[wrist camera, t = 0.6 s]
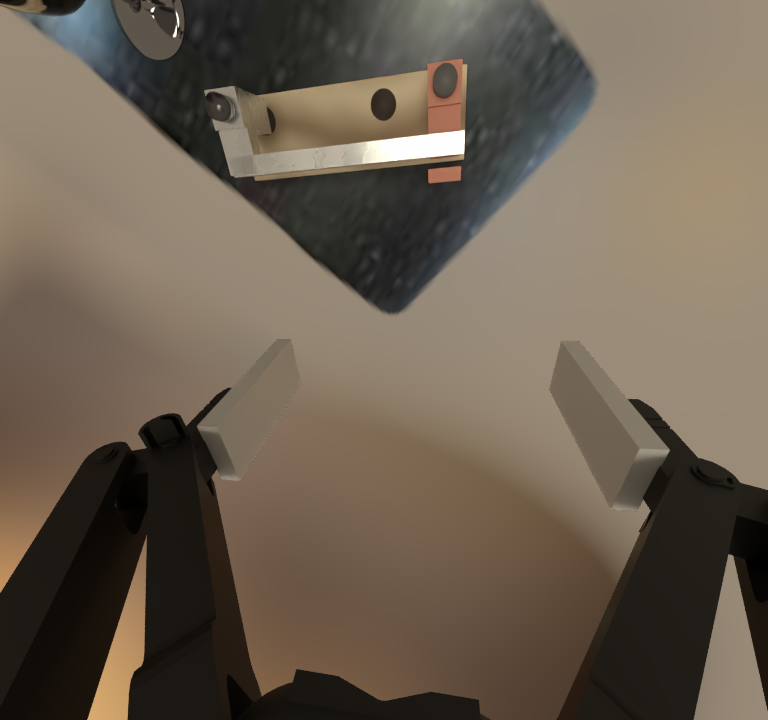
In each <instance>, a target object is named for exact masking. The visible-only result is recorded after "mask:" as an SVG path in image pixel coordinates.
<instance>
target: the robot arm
mask: <svg viewBox="0 0 768 720" xmlns="http://www.w3.org/2000/svg"><path fill="white" fill-rule="evenodd" d="M300 384H301V380H300V376H299V372H298V368H297V363H296V359H295V355H294V351H293V346H292V342H291V339H290V340H289V339H277V340H276V341H275V342H274V343H273V344H272V345H271V346H270V347H269V349H268V350H267V351H266V352H265V353H264V354H263V355H262V356H261V357H260V358H259V359H258V360H257V362H256V363H255V364H254V365H253V366H252V367H251V368H250V369H249V370H248V371H247V372H246V373H245V375H244V376H243V377H242V378H241V379H240V380H239V381H238V382H237V383H236V384H235V385H234V386H233V388H227V389H225V390H223V391H222V392H220V393H219V394H217V395H216V396H215V397H214V398H213V399H212V400H211V401H210V403H209V404H208V405H207V406H205V407H204V409H203V410H202V411H201V412H200V413H199V414H198V415H197V416H196V417H195V418H194V419H193V420H192V421H191V422H190V423H189V424H188V425H187V426H185V424H184V422H183V420H182V418H181V416H180V415H178V414H175V413H173V414H165V415H161V416H158V417H156V418H154V419H152V420H150V421H149V422H147V423H146V424H144V425H143V427H142V428H141V429H140V430H139V433H138V434H139V436H140V437H141V439H142V441H143V442H144V444H145V446H146V447H147V448H146V449H140V450H134V451H132V450H131V449H130V447H129V446H128V444H127V443H125V442H113V443H110V444H108V445H104V446H102V447H100V448H98V449H96V450H95V451H94V452H92V453H91V454H90V455H89V456H88V457H87V458H86V459H85V460H84V462H83V463H82V465H81V466H80V468H79V469H78V471H77V473H76V474H75V476H74V477H73V479H72V481H71V482H70V484H69V485H68V487H67V488H66V490H65V492H64V493H63V495H62V496H61V498H60V500H59V501H58V503H57V504H56V506H55V507H54V509H53V511H52V512H51V514H50V516H49V517H48V518H47V520H46V522H45V523H44V525H43V526H42V528H41V530H40V531H39V533H38V534H37V536H36V537H35V539H34V541H33V542H32V544H31V545H30V547H29V549H28V550H27V552H26V553H25V555H24V557H23V558H22V560H21V561H20V563H19V564H18V566H17V568H16V569H15V571H14V573H13V574H12V575H11V577H10V579H9V580H8V582H7V583H6V585H5V587H4V588H3V590H2V592H1V593H0V720H87V719H88V716H89V712H90V709H91V706H92V703H93V700H94V697H95V694H96V691H97V688H98V685H99V681H100V678H101V675H102V672H103V669H104V666H105V663H106V660H107V657H108V653H109V650H110V647H111V644H112V641H113V638H114V635H115V631H116V629H117V626H118V622H119V619H120V616H121V612H122V610H123V607H124V603H125V600H126V598H127V594H128V591H129V588H130V585H131V582H132V579H133V576H134V573H135V569H136V566H137V563H138V560H139V557H140V554H141V551H142V548H143V545H144V542H145V539H146V535H147V558H146V559H147V560H146V561H147V562H146V606H145V607H146V608H145V652H144V661H143V664H142V666H141V667H139V668H138V669H137V670H136V671H135V672H134V674H133V676H132V679H131V683H130V690H129V704H128V720H491V719H489V718H487V717H486V716H484V715H482V714H480V708H479V700H476V699H470V698H464V697H458V696H452V695H447V694H441V693H435V692H428V693H424V694H418V695H413V696H408V697H403V698H398V699H393V700H389V701H381V700H378V699H376V698H375V697H373V696H371V695H369V694H368V693H366V692H364V691H363V690H361V689H359V688H357V687H356V686H354V685H352V684H350V683H349V682H347V681H345V680H344V679H342V678H340V677H339V676H334V675H328V674H322V673H316V672H310V671H304V670H299V669H297V670H296V673H295V677H294V680H293V682H292V683H288V684H285V685H283V686H280V687H278V688H276V689H274V690H272V691H270V692H268V693H266V694H265V695H264V696H261V692H260V689H259V686H258V682H257V680H256V677H255V674H254V672H253V669H252V666H251V662H250V658H249V653H248V648H247V643H246V638H245V633H244V628H243V623H242V618H241V613H240V609H239V603H238V599H237V593H236V589H235V583H234V579H233V574H232V569H231V564H230V559H229V554H228V549H227V544H226V539H225V534H224V529H223V525H222V519H221V514H220V510H219V505H218V500H217V495H216V490H215V485H214V482H213V480H212V478H211V477H212V475H213V474H214V473H215V471H216V470H217V469H218V472H219V474H220V476H221V477H222V479H224V480H237V481H240V480H241V479H242V477H243V475H244V474H245V472H246V470H247V469H248V467H249V466H250V464H251V462H252V461H253V459H254V458H255V456H256V455H257V453H258V451H259V449H260V448H261V447H262V445H263V443H264V442H265V440H266V439H267V437H268V435H269V434H270V432H271V430H272V429H273V427H274V426H275V424H276V422H277V421H278V419H279V418H280V416H281V415H282V413H283V411H284V410H285V408H286V407H287V405H288V403H289V402H290V400H291V398H292V397H293V395H294V394H295V392H296V390H297V389H298V387H299V386H300ZM549 390H550V392H551V394H552V396H553V398H554V400H555V402H556V404H557V406H558V408H559V410H560V411H561V414H562V415H563V417H564V419H565V421H566V423H567V425H568V427H569V429H570V431H571V433H572V435H573V437H574V439H575V441H576V443H577V445H578V447H579V448H580V451H581V452H582V454H583V456H584V458H585V460H586V462H587V464H588V466H589V468H590V470H591V472H592V474H593V476H594V478H595V480H596V482H597V484H598V486H599V488H600V490H601V491H602V493H603V495H604V497H605V499H606V501H607V503H608V505H609V507H610V509H612V510H623V511H637V510H638V508H639V506H640V505H641V502H642V501H643V499H644V501H645V502H646V504H647V506H648V507H649V509H650V510H651V511H650V513H649V515H648V516H647V518H646V520H645V522H644V523H643V525H642V527H641V529H640V530H639V532H640V534H639V537H638V539H637V541H636V543H635V546H634V548H633V550H632V552H631V554H630V557H629V559H628V561H627V563H626V566H625V568H624V570H623V572H622V575H621V577H620V579H619V581H618V583H617V586H616V588H615V590H614V592H613V595H612V597H611V599H610V601H609V604H608V606H607V608H606V611H605V613H604V615H603V617H602V619H601V622H600V624H599V626H598V628H597V631H596V633H595V635H594V637H593V640H592V642H591V644H590V646H589V649H588V651H587V653H586V655H585V657H584V660H583V662H582V664H581V666H580V669H579V671H578V673H577V676H576V678H575V680H574V682H573V684H572V687H571V689H570V691H569V693H568V696H567V698H566V700H565V702H564V705H563V707H562V709H561V711H560V714H559V716H558V718H557V720H693V719H694V715H695V709H696V705H697V701H698V695H699V691H700V686H701V682H702V677H703V672H704V667H705V662H706V658H707V653H708V648H709V643H710V638H711V634H712V629H713V624H714V620H715V615H716V610H717V605H718V601H719V596H720V591H721V586H722V582H723V576H724V572H725V567H726V563H727V558H728V554H730V555H733V556H734V561H735V565H736V570H737V574H738V579H739V583H740V588H741V592H742V597H743V601H744V606H745V611H746V615H747V620H748V624H749V629H750V633H751V638H752V642H753V647H754V651H755V656H756V660H757V665H758V669H759V674H760V678H761V683H762V687H763V692H764V696H765V701H766V705H767V710H768V490H765V489H762V488H758V487H754V486H750V485H746V484H742V483H740V482H739V481H738V479H737V478H736V477H735V476H734V475H733V474H732V473H730V472H729V471H727V470H726V469H725V468H723V467H721V466H719V465H717V464H715V463H713V462H711V461H707V460H704V459H701V458H698V457H697V456H696V455H695V454H694V453H693V452H692V451H691V450H690V449H689V447H688V446H687V445H686V444H685V443H684V442H683V441H682V440H681V439H680V437H679V436H678V435H677V434H676V433H675V432H674V431H673V430H672V429H670V426H668V424H667V423H666V422H665V421H663V420H662V418H661V417H660V416H659V414H658V413H657V412H656V411H655V410H654V409H653V408H652V407H650V406H649V405H647V404H645V403H644V402H642V401H641V400H638V399H627V398H626V397H625V396H624V394H623V393H622V392H621V391H620V389H619V388H618V387H617V386H616V385H615V384H614V382H613V381H612V380H611V379H610V377H609V376H608V375H607V374H606V373H605V371H604V370H603V369H602V368H601V367H600V366H599V364H598V363H597V362H596V361H595V360H594V358H593V357H592V356H591V355H590V353H589V352H588V351H587V350H586V349H585V347H584V346H583V345H582V344H581V343H580V341H561V343H560V348H559V352H558V356H557V360H556V364H555V368H554V372H553V376H552V381H551V385H550V389H549Z"/></svg>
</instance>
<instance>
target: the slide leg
mask: <svg viewBox="0 0 768 720" xmlns="http://www.w3.org/2000/svg"><path fill="white" fill-rule="evenodd" d="M462 63H463V59H456V60H450V61H443V62H437V63H430V64H427V72H428V135H430V134H438V133H447V132H455V131H460V125H461V100H462ZM455 156H460V155H452V156H442V157H433V158H429V159H436V158H446V157H455ZM428 178H429V183H437V182H448V181H459V180H461V166H457V167H447V168H437V169H428Z"/></svg>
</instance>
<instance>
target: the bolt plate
mask: <svg viewBox="0 0 768 720" xmlns="http://www.w3.org/2000/svg"><path fill="white" fill-rule="evenodd" d="M466 83H467V64H465V65H462V100H461V125H460V131H464V130H465V113H466ZM258 96H259V97H261V98H263V99H265V104H266V108H267V113H268V118H269V122H270V127H271V132H272V133H271V134H264V135H257V138H258V143H259V147H260V151H261V154H267V153H276V152H284V151H293V150H302V149H310V148H319V147H327V146H336V145H344V144H353V143H361V142H370V141H378V140H387V139H395V138H404V137H413V136H421V135H428V72H427V70H425V71H418V72H412V73H405V74H398V75H391V76H385V77H378V78H371V79H365V80H358V81H351V82H345V83H338V84H331V85H325V86H318V87H311V88H305V89H298V90H291V91H285V92H278V93H271V94H265V95H258ZM464 144H465V132H464ZM457 160H464V154H461V155H460V156H455V157H446V158H436V159H429V158H423V159H414V160H404V161H395V162H385V163H376V164H366V165H357V166H347V167H338V168H328V169H319V170H309V171H300V172H290V173H281V174H271V175H262V176H254V178H255V181H262V180H272V179H282V178H291V177H301V176H311V175H320V174H330V173H340V172H350V171H359V170H369V169H379V168H389V167H398V166H408V165H418V164H428V163H437V162H447V161H457Z"/></svg>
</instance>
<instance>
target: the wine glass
mask: <svg viewBox="0 0 768 720" xmlns="http://www.w3.org/2000/svg"><path fill="white" fill-rule="evenodd" d="M85 1H86V0H0V6H3V7H6V8H9V9H12V10H17V11H21V12H26V13H30V14H36V15H43V16H53V17H54V16H65V15H70V14H72V13H74V12H76V11H77V10H78V9H79V8H80V7H81V6H82V5H83V4H84V3H85ZM111 3H112V8H113V11H114V14H115V17H116V20H117V22H118V24H119V26H120V28H121V30H122V32H123V34H124V35H125V37H126V38H127V39H128V41H129V42H130V43H131V44H132V45H133V47H134V48H135V49H137V50H138V51H139V52H140V53H141V54H143V55H145V56H146V57H148V58H151V59H153V60H159V61H160V60H167V59H169V58H171V57H173V56H174V55H175V54H176V53H177V52H178V50H179V48H180V47H181V45H182V42H183V38H184V32H185V16H184V9H183V5H182V1H181V0H111Z"/></svg>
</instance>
